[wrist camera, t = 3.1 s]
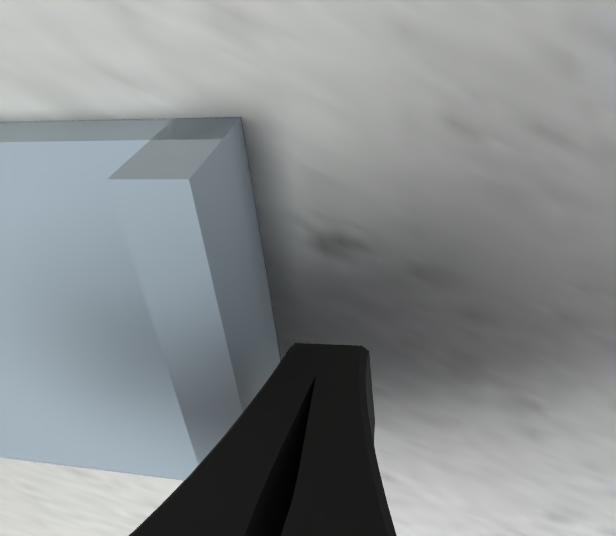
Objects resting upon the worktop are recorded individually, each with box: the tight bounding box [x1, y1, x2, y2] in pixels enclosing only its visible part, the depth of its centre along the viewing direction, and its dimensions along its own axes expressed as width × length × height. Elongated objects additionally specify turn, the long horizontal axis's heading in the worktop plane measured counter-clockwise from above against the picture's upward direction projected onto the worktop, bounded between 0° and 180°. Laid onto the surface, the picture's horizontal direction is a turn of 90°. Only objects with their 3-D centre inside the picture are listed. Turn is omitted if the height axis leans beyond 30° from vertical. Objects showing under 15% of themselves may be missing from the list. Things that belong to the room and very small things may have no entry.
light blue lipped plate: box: [0, 117, 280, 481], centre depth 12 cm, size 11×9×3 cm
